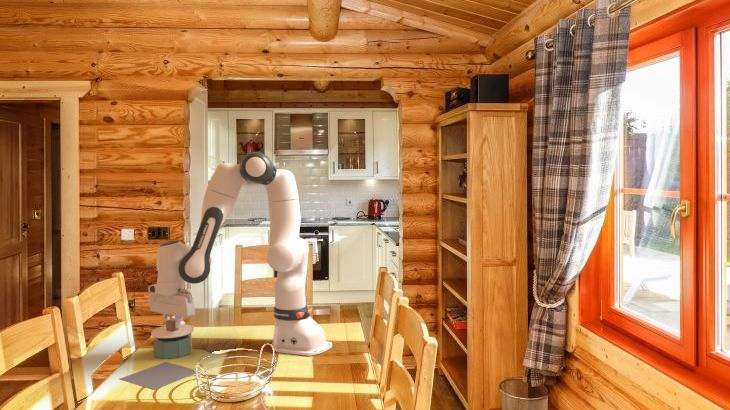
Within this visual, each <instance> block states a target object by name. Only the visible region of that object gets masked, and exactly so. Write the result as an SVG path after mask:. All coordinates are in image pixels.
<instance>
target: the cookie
mask: <svg viewBox="0 0 730 410" xmlns="http://www.w3.org/2000/svg"><path fill="white" fill-rule="evenodd" d="M201 348H202V350H203V349H204V350H205V351H206V352H207V353H209V352H210V353H209V354H211V353H212V352H214V351H220V350H227V349H236V348H245V346H243V345H241V344H239V343H237V342H236V341H234V340H227V341H224V342H219V343H216V344H209V345H205V346H202V347H201Z"/></svg>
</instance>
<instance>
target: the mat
mask: <svg viewBox="0 0 730 410" xmlns="http://www.w3.org/2000/svg"><path fill="white" fill-rule="evenodd" d="M194 370H195V369H194V368H190V367H186V366H184V365H183V366H182V365H180V364H176V363H171V362H167V361H164V362H162V363H159V364H156V365H153V366H151V367H147V368H145V369H142V370H140V371H139V370H138V371H136V372H134V373H132V374H128V375H125V376H122V377H119V380H121V381H123V382H128V383H131V384H134V385H136V386H140V387H143V388H147V389H150V390H153V391H156V390H159V389H161V388H164V387H166V386H168V385H171V384H173V383H176V382H178V381H181V380H183V379H185V378H187V377H191V376H192V375H195V374H196V373H195V371H194Z"/></svg>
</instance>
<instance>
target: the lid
mask: <svg viewBox="0 0 730 410" xmlns="http://www.w3.org/2000/svg"><path fill="white" fill-rule="evenodd" d="M175 321H176V319H172V318H170V320H166V326H165V325H164V326H160V327H157V328H154V329H153V330H152V331H150V332H151V333H150V334H151V337H153V338H154V339H155V338H176V337H181V336H185V335H188V334H190V333H191V334H192V333H193V332H194V331H195V329H194V326H193V325H190V324H186V323H185V324H180V328H174V327H173V326H174V325H173V323H175Z"/></svg>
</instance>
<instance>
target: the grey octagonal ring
mask: <svg viewBox="0 0 730 410" xmlns="http://www.w3.org/2000/svg"><path fill="white" fill-rule="evenodd" d="M192 337H193V336H192V333H190V334H188V335H185V336H181V337H176V338H155V337H154V339H153V356H154V358H155V357H156V358H159V359H162V360H163V359H165V360H166V359H168V360H169V359H176V358H181V357H185V356H187V355H190V354H191V352H192V350H193V344H192V343H193V340H192Z"/></svg>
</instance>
